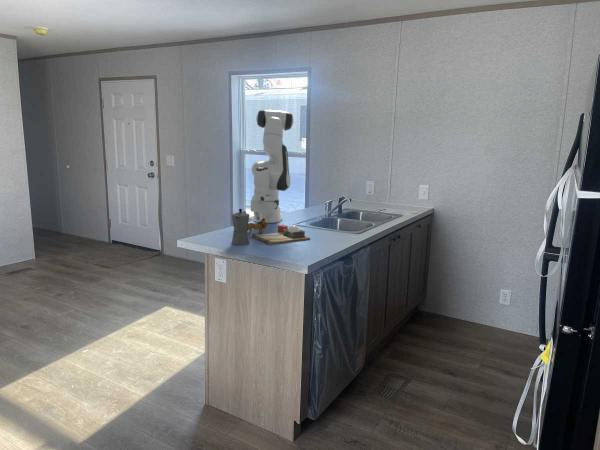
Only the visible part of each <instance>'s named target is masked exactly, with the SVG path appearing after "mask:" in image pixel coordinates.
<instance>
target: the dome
mask: <svg viewBox="0 0 600 450" xmlns="http://www.w3.org/2000/svg"><path fill="white" fill-rule="evenodd" d="M300 230H301V229H300V228H299V226H297V225H295V224H293V225H290V226H289V227H288V231H290V232H298V231H300Z"/></svg>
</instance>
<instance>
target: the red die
mask: <svg viewBox="0 0 600 450" xmlns="http://www.w3.org/2000/svg"><path fill="white" fill-rule="evenodd" d="M284 229H289V227H288V225H285V224H280V225H278V226H277V233H279V232H283V230H284Z"/></svg>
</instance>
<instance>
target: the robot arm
mask: <svg viewBox="0 0 600 450" xmlns="http://www.w3.org/2000/svg"><path fill="white" fill-rule="evenodd" d="M294 120H295V119H294V116H293V113H291V112H288V111H284V110H283V111H282V110H277V109H275V110H272V109H260V110H258V112H257V114H256V120H255V121H256V123H257V124H256V125H257V126H258V127H259V128H262V129H263V128H264V129H263V136H262V145H263V151H264V153H265V154H266V155H268V160H260V161H255V162H253V164H252V166H251V173H252V175H253V184H254V185H253V186H254V189H253V196H252V197H251V199H250V200H251V201H250V211H251V212H252V213H253V216H250V219H251V220H253V222H256V223H258V222H259V221H261V219H263V218H265V222H266V223H269V224H271V223H273V224H275V223H281V221H282V220H283V218H281V216H282V215H281V208H280V207H279V205H280V200H279V191H282V192H285V191H287V190H288V189H289V188H290V186H291V176H290V167H289V155H288V148H287V146H286V145H285V144H284V142H283V137H284V135H283V134H284V132H286V131H290V129H292V127H293V125H294Z"/></svg>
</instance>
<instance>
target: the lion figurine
mask: <svg viewBox="0 0 600 450" xmlns="http://www.w3.org/2000/svg"><path fill="white" fill-rule="evenodd" d="M267 226H268V223H266V222H265V218H263V219H261V221H259V222H256V223H255V222H254V223H253V222H248V227H247V232H248V231H249V232H248V234H250V236H254V234H253V233H252V231H253V230H255V231H258V235H262V234H263V233H264V232H263V231H264V230H265V229H266V228H267Z"/></svg>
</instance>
